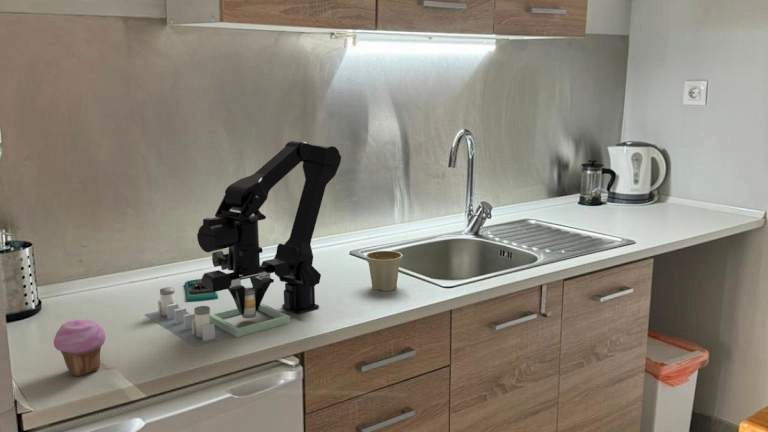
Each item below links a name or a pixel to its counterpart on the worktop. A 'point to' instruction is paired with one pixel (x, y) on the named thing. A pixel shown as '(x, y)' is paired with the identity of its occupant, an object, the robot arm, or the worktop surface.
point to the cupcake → (80, 345)
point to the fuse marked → (249, 303)
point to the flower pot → (384, 269)
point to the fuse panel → (185, 325)
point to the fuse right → (201, 319)
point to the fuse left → (166, 299)
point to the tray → (279, 320)
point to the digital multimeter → (198, 291)
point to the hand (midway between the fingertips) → (248, 312)
